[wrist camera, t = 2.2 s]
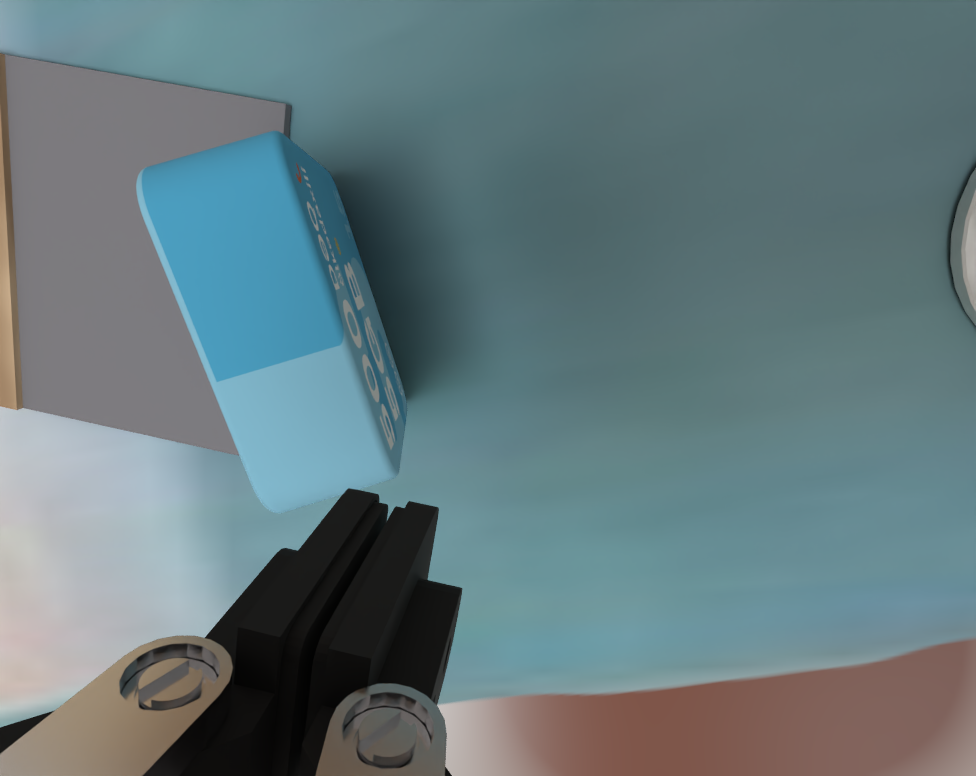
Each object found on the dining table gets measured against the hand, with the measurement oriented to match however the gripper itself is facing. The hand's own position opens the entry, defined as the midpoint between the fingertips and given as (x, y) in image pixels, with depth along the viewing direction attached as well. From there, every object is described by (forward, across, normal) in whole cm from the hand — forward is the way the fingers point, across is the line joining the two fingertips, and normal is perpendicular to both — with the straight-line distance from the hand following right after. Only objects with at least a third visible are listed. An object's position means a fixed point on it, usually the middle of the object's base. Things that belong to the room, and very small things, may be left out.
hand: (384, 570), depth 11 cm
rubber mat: (+20, +19, 0) cm, 28 cm away
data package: (+20, +9, 0) cm, 22 cm away
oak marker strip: (+21, +26, 0) cm, 33 cm away
